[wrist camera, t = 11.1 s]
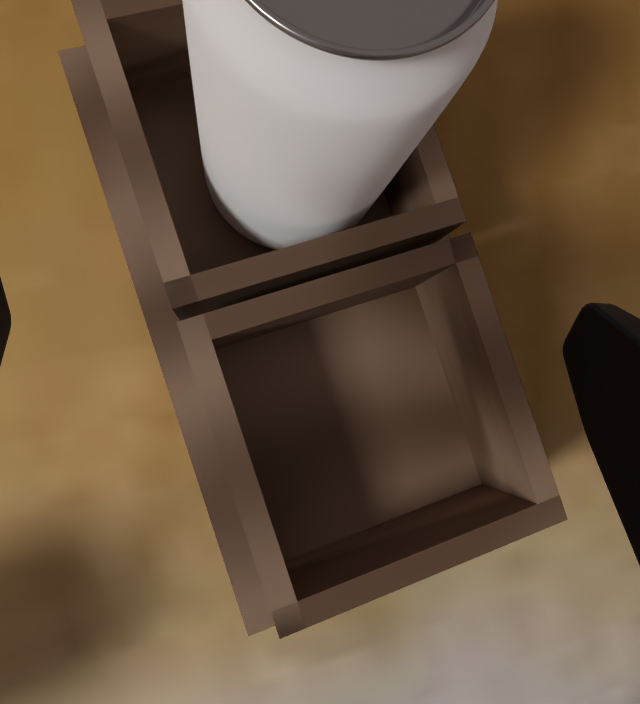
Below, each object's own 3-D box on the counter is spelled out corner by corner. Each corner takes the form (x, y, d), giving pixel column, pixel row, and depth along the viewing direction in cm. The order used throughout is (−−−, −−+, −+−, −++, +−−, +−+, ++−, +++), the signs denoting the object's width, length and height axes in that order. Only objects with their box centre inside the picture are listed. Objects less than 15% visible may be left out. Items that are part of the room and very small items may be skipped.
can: (220, 70, 21) (207, -336, 9) (385, 111, 22) (562, -212, 10) (188, 236, 21) (130, 25, 9) (359, 270, 22) (516, 122, 10)
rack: (530, 509, 23) (612, 541, 18) (247, 624, 21) (252, 696, 16) (359, 3, 23) (393, -101, 18) (65, 67, 21) (16, -32, 16)
